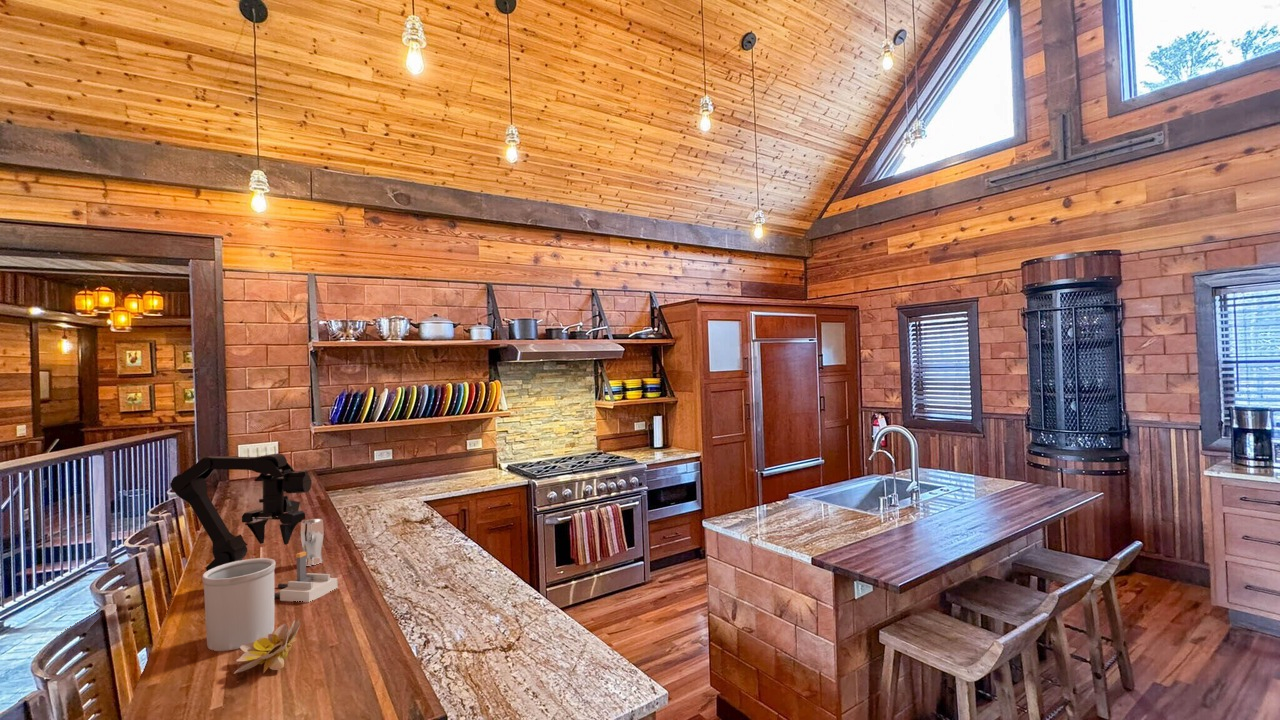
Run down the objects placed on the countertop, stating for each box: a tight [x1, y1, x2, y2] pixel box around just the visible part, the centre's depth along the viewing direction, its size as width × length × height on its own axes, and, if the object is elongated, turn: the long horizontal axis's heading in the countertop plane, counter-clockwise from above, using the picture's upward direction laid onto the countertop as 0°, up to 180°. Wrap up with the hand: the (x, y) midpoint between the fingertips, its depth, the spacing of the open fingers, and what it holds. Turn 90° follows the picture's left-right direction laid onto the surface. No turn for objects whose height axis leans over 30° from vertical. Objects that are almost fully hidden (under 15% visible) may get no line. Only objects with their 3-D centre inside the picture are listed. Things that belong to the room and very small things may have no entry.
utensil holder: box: [201, 557, 277, 652], centre depth 138 cm, size 15×15×18 cm
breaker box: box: [274, 572, 338, 603], centre depth 166 cm, size 19×11×5 cm, turn 78°
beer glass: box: [300, 518, 325, 567], centre depth 194 cm, size 7×7×15 cm
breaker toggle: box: [295, 551, 312, 582], centre depth 166 cm, size 3×5×9 cm, turn 168°
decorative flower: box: [233, 617, 302, 675], centre depth 125 cm, size 15×11×10 cm
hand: (274, 543), depth 174 cm, fingers open, 9 cm apart
